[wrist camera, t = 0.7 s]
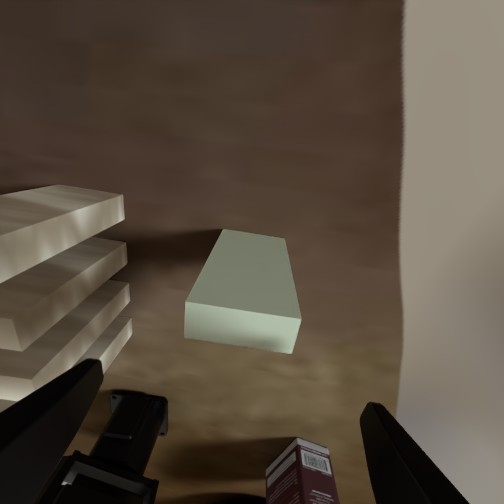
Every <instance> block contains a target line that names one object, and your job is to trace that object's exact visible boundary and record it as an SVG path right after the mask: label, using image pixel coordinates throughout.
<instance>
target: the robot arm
mask: <svg viewBox="0 0 504 504" xmlns="http://www.w3.org/2000/svg"><path fill="white" fill-rule="evenodd" d="M103 378H104V375H103V368H102V362H101V360H99V359H93V358H87V359H85V360H83V361H82V362H80V363H78V364H77V365H75V366H74V367H72V368H70V369H69V370H67V371H66V372H64V373H62V374H61V375H59V376H58V377H56V378H54V379H53V380H51V381H50V382H48V383H46V384H45V385H43V386H42V387H40V388H38V389H37V390H35V391H34V392H32V393H30V394H29V395H27V396H26V397H24V398H22V399H21V400H19V401H18V402H16V403H15V404H13V405H11V406H10V407H8V408H7V409H5V410H3V411H2V412H0V504H154V501H155V497H156V493H157V488H158V484H159V481H158V480H156V479H154V480H152V479H149V478H147V477H144V476H143V474H144V472H145V469H146V466H147V463H148V461H149V458H150V455H151V453H152V450H153V447H154V445H155V442H156V439H157V437H158V436H166V434H167V431H168V401H167V400H166V399H164V398H158V397H151V396H145V395H138V394H131V393H124V392H118V391H113V392H112V393H111V395H110V402H111V410H112V416H111V417H110V419H109V421H108V423H107V424H106V426H105V428H104V429H103V431H102V433H101V435H100V436H99V438H98V440H97V442H96V443H95V445H94V447H93V449H92V450H91V452H90V454H89V456H87V455H85V454H82V453H80V451H78V450H75V451H74V453H73V454H72V456H71V455H70V456H63V455H64V453H65V451H66V450H67V448H68V447H69V445H70V443H71V442H72V440H73V438H74V437H75V435H76V433H77V431H78V429H79V428H80V426H81V424H82V422H83V420H84V418H85V416H86V414H87V412H88V410H89V408H90V406H91V404H92V402H93V400H94V398H95V396H96V394H97V392H98V390H99V388H100V386H101V384H102V382H103ZM360 427H361V433H362V438H363V444H364V449H365V455H366V460H367V466H368V471H369V476H370V481H371V485H372V489H373V493H374V496H375V500H376V504H469V503H468V501H467V500H466V499H465V498H464V497H463V496H462V494H461V493H460V492H459V491H458V490H457V489H456V488H455V486H454V485H453V484H452V483H451V482H450V481H449V480H448V479H447V477H445V475H444V474H443V473H442V472H441V471H440V469H439V468H438V467H437V466H436V465H435V464H434V463H433V462H432V460H431V459H430V458H429V457H428V456H427V455H426V453H425V452H424V451H423V450H422V449H421V448H420V447H419V445H418V444H417V443H416V442H415V441H414V440H413V439H412V437H410V435H409V434H408V433H407V432H406V431H405V430H404V428H403V427H402V426H401V425H400V424H399V423H398V422H397V420H396V419H395V418H394V417H393V416H392V415H391V414H390V412H389V411H388V410H387V409H386V408H385V407H384V406H383V405H382V404H380V403H375V402H368V403H367V405H366V407H365V409H364V410H363V412H362V414H361V416H360ZM62 456H63V457H62ZM61 458H62V459H61ZM60 459H61V460H60ZM59 461H60V462H59ZM57 464H58V465H57ZM56 466H57V467H56ZM55 467H56V468H55ZM54 469H55V470H54ZM52 472H53V473H52ZM50 475H51V476H50ZM63 482H67V484H65V485H62V484H63ZM68 483H70V484H68Z"/></svg>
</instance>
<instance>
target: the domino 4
mask: <svg viewBox="0 0 504 504" xmlns="http://www.w3.org/2000/svg"><path fill="white" fill-rule="evenodd" d="M301 320H302V319H301V314H300V310H299V305H298V300H297V295H296V290H295V286H294V281H293V276H292V271H291V267H290V262H289V257H288V252H287V247H286V243H285V238H278V237H272V236H265V235H259V234H253V233H246V232H240V231H233V230H227V229H223V230H222V232H221V234H220V236H219V238H218V240H217V242H216V244H215V246H214V248H213V250H212V251H211V253H210V255H209V257H208V259H207V261H206V263H205V265H204V267H203V269H202V271H201V273H200V275H199V277H198V279H197V280H196V282H195V284H194V286H193V288H192V290H191V292H190V294H189V296H188V298H187V300H186V302H185V325H184V338H190V339H196V340H203V341H210V342H216V343H223V344H230V345H236V346H243V347H249V348H256V349H263V350H269V351H276V352H283V353H289V354H292V351H293V348H294V344H295V341H296V337H297V334H298V330H299V327H300V323H301Z"/></svg>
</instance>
